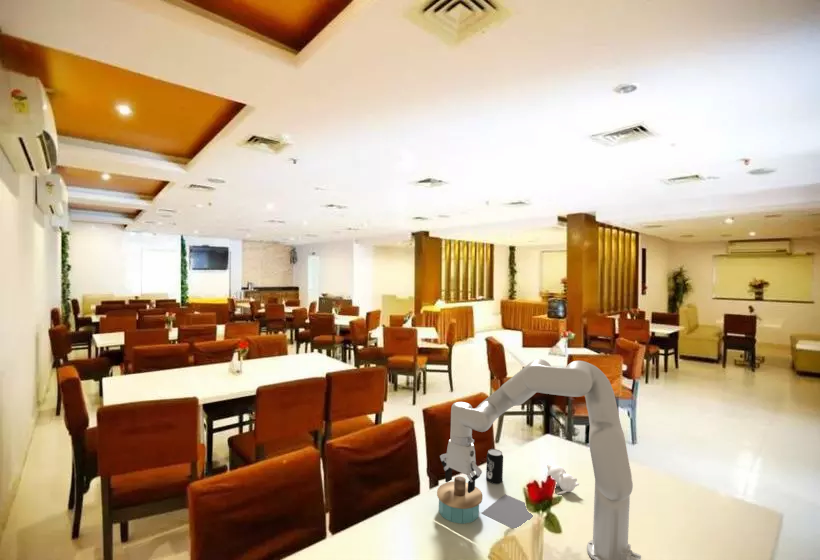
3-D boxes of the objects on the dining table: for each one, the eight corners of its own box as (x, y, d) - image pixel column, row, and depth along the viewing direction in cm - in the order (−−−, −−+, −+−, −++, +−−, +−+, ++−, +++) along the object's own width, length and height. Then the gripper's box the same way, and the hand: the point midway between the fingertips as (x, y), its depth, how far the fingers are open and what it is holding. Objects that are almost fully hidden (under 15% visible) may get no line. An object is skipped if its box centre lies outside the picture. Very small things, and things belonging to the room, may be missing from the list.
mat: (547, 514, 142) (547, 512, 142) (526, 536, 130) (526, 535, 130) (505, 495, 154) (505, 494, 154) (481, 514, 141) (481, 513, 141)
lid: (491, 495, 143) (491, 479, 143) (465, 514, 131) (466, 497, 131) (454, 478, 153) (454, 464, 153) (427, 495, 142) (428, 479, 141)
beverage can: (502, 486, 161) (503, 456, 160) (486, 484, 162) (486, 454, 162) (502, 478, 167) (503, 449, 167) (486, 476, 168) (487, 447, 168)
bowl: (486, 511, 143) (486, 495, 143) (463, 530, 132) (464, 512, 132) (454, 496, 152) (454, 480, 152) (431, 512, 142) (431, 495, 142)
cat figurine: (576, 471, 155) (552, 457, 166) (558, 490, 151) (535, 474, 162) (583, 487, 157) (559, 472, 168) (566, 506, 154) (543, 490, 165)
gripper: (487, 442, 139) (486, 491, 139) (447, 428, 150) (446, 473, 151) (475, 449, 133) (474, 500, 133) (435, 434, 145) (433, 480, 145)
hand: (459, 485), depth 142 cm, fingers open, 9 cm apart
